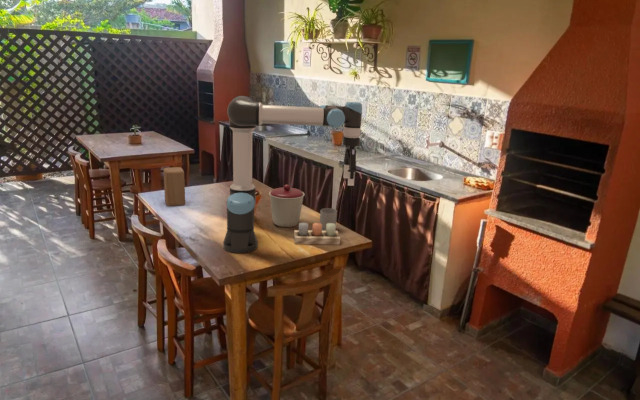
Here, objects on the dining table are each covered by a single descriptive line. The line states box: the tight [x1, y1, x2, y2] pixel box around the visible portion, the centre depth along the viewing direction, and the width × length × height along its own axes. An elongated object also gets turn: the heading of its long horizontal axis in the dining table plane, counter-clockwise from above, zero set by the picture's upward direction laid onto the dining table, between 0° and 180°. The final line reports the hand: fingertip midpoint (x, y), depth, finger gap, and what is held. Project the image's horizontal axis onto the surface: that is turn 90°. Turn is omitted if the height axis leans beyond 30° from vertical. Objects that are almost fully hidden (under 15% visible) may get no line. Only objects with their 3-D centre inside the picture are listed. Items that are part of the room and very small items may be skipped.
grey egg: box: [298, 222, 309, 236], centre depth 211 cm, size 4×4×5 cm
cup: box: [319, 207, 338, 231], centre depth 227 cm, size 8×8×10 cm
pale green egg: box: [326, 223, 337, 236], centre depth 213 cm, size 4×4×5 cm
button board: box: [293, 229, 341, 245], centre depth 213 cm, size 21×10×3 cm, turn 96°
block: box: [163, 166, 186, 207], centre depth 253 cm, size 10×10×20 cm
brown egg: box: [311, 222, 322, 236], centre depth 212 cm, size 4×4×5 cm
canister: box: [268, 184, 305, 228], centre depth 230 cm, size 18×18×21 cm
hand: (348, 181), depth 211 cm, fingers open, 13 cm apart
